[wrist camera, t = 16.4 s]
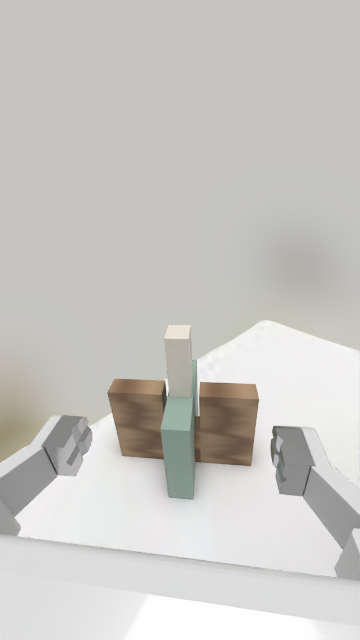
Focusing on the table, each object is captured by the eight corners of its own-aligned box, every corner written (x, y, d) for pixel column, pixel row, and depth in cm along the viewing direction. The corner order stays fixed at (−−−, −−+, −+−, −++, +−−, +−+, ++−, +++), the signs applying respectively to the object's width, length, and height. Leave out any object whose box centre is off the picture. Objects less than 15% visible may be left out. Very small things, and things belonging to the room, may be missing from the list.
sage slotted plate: (198, 419, 41) (195, 308, 32) (193, 499, 30) (186, 366, 21) (180, 418, 41) (172, 308, 32) (168, 497, 30) (152, 365, 21)
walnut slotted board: (248, 448, 36) (255, 384, 30) (250, 465, 33) (258, 399, 28) (127, 440, 38) (114, 378, 32) (122, 455, 36) (107, 392, 30)
